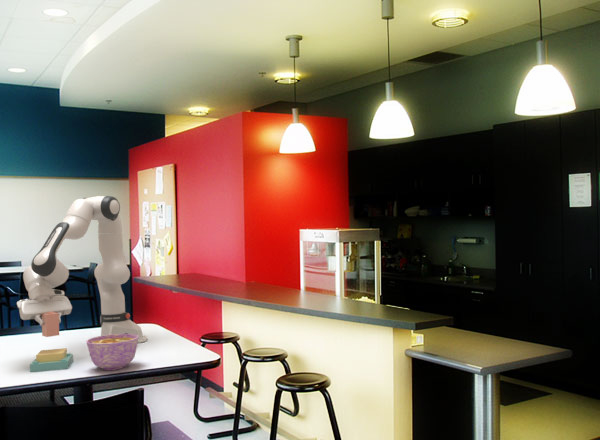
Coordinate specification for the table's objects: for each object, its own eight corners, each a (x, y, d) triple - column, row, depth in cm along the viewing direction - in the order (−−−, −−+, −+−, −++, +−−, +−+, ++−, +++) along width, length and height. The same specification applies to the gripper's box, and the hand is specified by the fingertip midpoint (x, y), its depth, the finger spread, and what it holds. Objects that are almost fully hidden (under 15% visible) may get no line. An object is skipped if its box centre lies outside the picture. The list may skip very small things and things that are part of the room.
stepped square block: (73, 361, 253) (72, 346, 253) (67, 368, 239) (67, 353, 239) (37, 364, 250) (37, 349, 250) (30, 372, 236) (29, 356, 236)
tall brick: (54, 333, 248) (53, 310, 248) (59, 335, 244) (58, 311, 244) (42, 335, 244) (41, 312, 244) (46, 337, 241) (46, 313, 241)
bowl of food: (100, 361, 249) (99, 334, 249) (146, 361, 247) (145, 333, 247) (77, 374, 229) (76, 344, 229) (128, 373, 227) (127, 343, 227)
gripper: (17, 295, 242) (26, 322, 235) (67, 290, 256) (77, 315, 249) (13, 305, 246) (22, 332, 238) (63, 300, 259) (73, 325, 252)
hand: (51, 323), depth 244 cm, fingers closed on tall brick, 5 cm apart
